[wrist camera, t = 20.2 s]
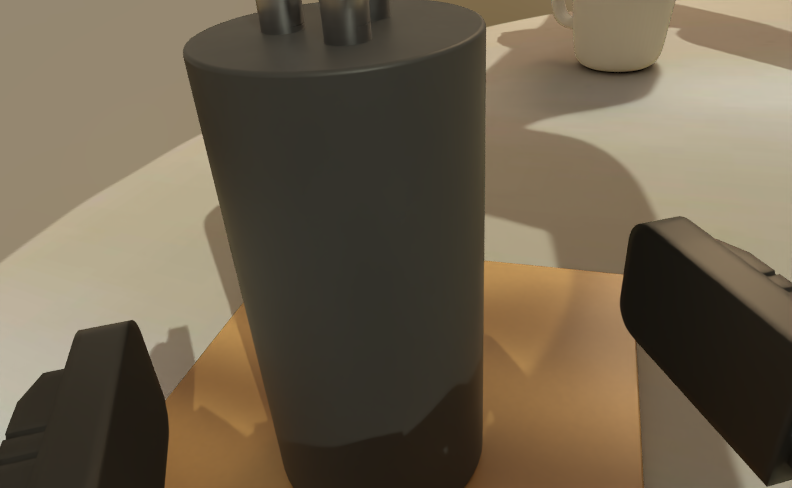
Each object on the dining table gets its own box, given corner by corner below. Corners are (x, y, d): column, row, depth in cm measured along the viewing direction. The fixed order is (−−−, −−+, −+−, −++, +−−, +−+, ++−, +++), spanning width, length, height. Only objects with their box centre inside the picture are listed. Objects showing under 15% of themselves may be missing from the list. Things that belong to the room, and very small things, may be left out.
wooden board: (293, 251, 29) (291, 240, 29) (631, 286, 25) (633, 274, 25) (-94, 754, 13) (-108, 742, 13) (668, 1071, 9) (675, 1066, 9)
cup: (519, 59, 53) (522, -42, 49) (581, 40, 57) (589, -56, 53) (625, 86, 46) (641, -32, 42) (689, 62, 50) (709, -48, 45)
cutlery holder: (326, 357, 22) (225, -248, 13) (496, 382, 20) (512, -288, 12) (246, 502, 17) (1, -300, 8) (461, 550, 16) (441, -380, 7)
